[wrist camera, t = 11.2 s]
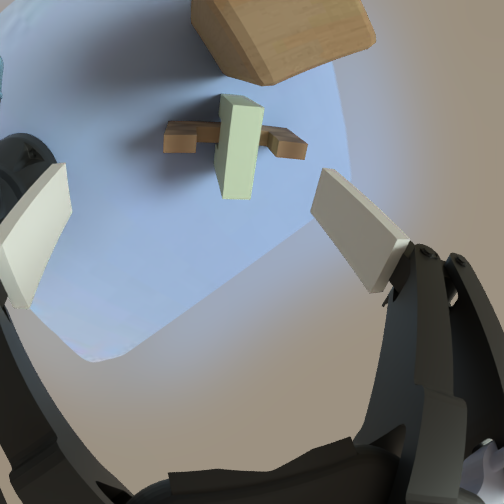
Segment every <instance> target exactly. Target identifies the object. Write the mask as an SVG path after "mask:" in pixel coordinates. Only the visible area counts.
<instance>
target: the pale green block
mask: <svg viewBox="0 0 504 504" xmlns="http://www.w3.org/2000/svg"><path fill="white" fill-rule="evenodd" d="M263 114H264V107H262V106H261V105H259V104H257V103H256V102H254V101H252V100H250V99H249V98H247V97H245V96H242V95H230V94H221V97H220V106H219V117H220V119H221V127H220V136H219V144H216V143H215V154H214V167H215V171H216V175H217V179H218V183H219V187H220V191H221V195H222V199H248V200H250V199H251V192H252V186H253V179H254V172H255V166H256V159H257V153H258V146H259V140H260V133H261V127H262V121H263Z"/></svg>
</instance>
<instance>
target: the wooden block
mask: <svg viewBox="0 0 504 504" xmlns="http://www.w3.org/2000/svg"><path fill="white" fill-rule="evenodd" d="M191 24H192V25H193V27H194V28H195V30H196V31H197V33H198V34H199V36H200V37H201V39H202V41H203V42H204V44H205V45H206V47H207V48H208V50H209V52H210V53H211V55H212V56H213V58H214V60H215V61H216V63H217V65H218V66H219V68H220V70H221V71H222V73H223V74H225V75H226V76H228V77H232V78H235V79H239V80H243V81H246V82H249V83H253V84H256V85H259V86H272V85H275V84H277V83H279V82H282V81H284V80H286V79H288V78H291V77H293V76H295V75H298V74H300V73H302V72H305V71H307V70H310V69H312V68H315V67H317V66H320V65H322V64H325V63H328V62H330V61H333V60H336V59H338V58H341V57H344V56H347V55H350V54H353V53H356V52H359V51H362V50H365V49H368V48H369V47H371V46H372V45H373V44H374V43H376V34H375V32H374V29H373V27H372V25H371V22H370V20H369V18H368V15H367V13H366V11H365V9H364V7H363V4H362V2H361V0H192V1H191Z"/></svg>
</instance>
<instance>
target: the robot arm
mask: <svg viewBox="0 0 504 504" xmlns="http://www.w3.org/2000/svg"><path fill="white" fill-rule="evenodd" d="M2 75H3V60H2V58H1V56H0V101H1V99H2V93H1V87H2ZM310 212H311V214H312V215H313V216H314V217H315V219H316V220H317V221H318V223H319V224H320V225H321V227H322V228H323V229H324V231H325V232H326V233H327V235H328V236H329V237H330V238H331V240H332V241H333V243H334V244H335V245H336V247H337V248H338V249H339V251H340V252H341V254H342V255H343V256H344V258H345V259H346V261H347V262H348V263H349V265H350V266H351V267H352V269H353V270H354V272H355V273H356V274H357V276H358V277H359V279H360V280H361V282H362V283H363V285H364V286H365V288H366V289H367V290H368V292H369V293H378V292H383V290H384V289H385V287H386V285H387V283H388V281H390V283H391V284H392V285H393V287H392V289H391V291H390V293H389V294H388V296H387V298H386V299H385V301H384V302H383V304H382V306H383V307H384V306H385V304H387V303H388V307H387V315H386V323H385V329H384V335H383V342H382V347H381V352H380V358H379V363H378V368H377V372H376V377H375V382H374V386H373V390H372V394H371V398H370V402H369V406H368V410H367V413H366V417H365V421H364V424H363V426H362V428H361V430H360V431H359V432H358V434H357V435H356V436H355V438H354V440H353V442H352V439H351V437H347V438H344V439H342V440H339V441H336V442H333V443H331V444H327V445H324V446H321V447H317V448H314V449H312V450H310V451H308V452H306V453H305V454H303V455H301V456H299V457H298V458H296V459H294V460H292V461H290V462H289V463H287V464H285V465H283V466H281V467H279V468H277V469H275V470H273V471H268V472H257V471H256V472H255V471H237V470H224V469H211V470H202V471H190V472H172V473H171V472H170V473H168V475H169V479H166V480H162V481H159V482H157V483H154V484H152V485H150V486H148V487H146V488H145V489H142V490H141V491H140V492H138V493H137V494H136V495H133V494H132V493H131V492H130V491H129V490H128V489H127V488H126V487H125V486H124V485H123V484H122V483H121V482H120V481H119V480H118V479H117V478H116V477H114V476H113V475H112V474H111V473H110V472H109V471H108V470H107V469H105V468H104V467H103V466H102V465H101V464H100V463H99V462H98V461H97V459H96V458H95V457H94V456H93V455H92V454H91V452H90V451H89V450H88V449H87V447H86V446H85V445H84V444H83V442H82V441H81V440H80V439H79V437H78V436H77V435H76V433H75V432H74V431H73V429H72V428H71V427H70V425H69V424H68V422H67V421H66V419H65V418H64V417H63V415H62V414H61V412H60V411H59V409H58V408H57V406H56V405H55V403H54V401H53V400H52V398H51V397H50V395H49V393H48V392H47V390H46V388H45V387H44V385H43V384H42V382H41V380H40V378H39V376H38V374H37V373H36V371H35V369H34V367H33V365H32V363H31V361H30V359H29V357H28V355H27V353H26V352H25V350H24V347H23V345H22V343H21V341H20V339H19V336H18V334H17V332H16V330H15V327H14V325H13V323H12V320H11V318H10V315H9V313H8V310H7V309H6V307H5V305H4V304H5V302H6V299H7V297H8V298H9V300H10V302H11V304H12V305H13V307H14V308H21V309H30V306H31V303H32V300H33V298H34V295H35V292H36V290H37V287H38V284H39V282H40V279H41V277H42V275H43V272H44V270H45V267H46V265H47V263H48V261H49V258H50V256H51V254H52V252H53V250H54V247H55V245H56V243H57V241H58V239H59V237H60V235H61V233H62V231H63V229H64V227H65V225H66V223H67V221H68V219H69V218H70V216H71V214H72V207H71V201H70V195H69V188H68V180H67V172H66V163H57V162H56V160H55V158H54V156H53V154H52V153H51V151H50V150H49V148H48V147H47V146H46V145H45V144H44V143H43V142H42V141H41V140H39V139H38V138H36V137H34V136H32V135H29V134H25V133H16V134H12V135H9V136H7V137H6V138H4V139H2V140H1V141H0V445H1V447H2V449H3V450H4V452H5V454H6V456H7V458H8V460H9V462H10V464H11V466H12V471H11V472H10V474H9V478H10V482H11V484H12V486H13V488H14V490H15V492H16V494H17V495H18V497H19V498H20V500H21V501H22V503H23V504H504V332H503V330H502V327H501V325H500V323H499V320H498V318H497V316H496V314H495V312H494V309H493V307H492V305H491V304H490V301H489V299H488V297H487V295H486V293H485V291H484V289H483V287H482V285H481V283H480V281H479V280H478V278H477V276H476V274H475V272H474V270H473V269H472V267H471V265H470V264H469V262H468V261H467V260H466V259H465V258H464V257H463V256H462V255H458V254H456V253H451V254H450V255H449V257H448V259H447V261H442V260H440V257H439V256H438V254H437V253H436V252H435V251H434V250H433V249H432V248H430V247H428V246H426V245H423V244H416V245H414V244H413V243H412V242H411V241H410V239H409V238H408V237H407V236H406V235H405V233H404V232H403V231H402V230H401V229H400V228H399V227H398V226H396V224H395V223H393V222H392V221H391V220H390V219H389V218H388V217H387V216H386V215H385V214H384V213H383V212H382V211H381V210H380V209H379V208H378V207H377V206H376V205H374V204H373V203H372V202H371V201H370V200H369V199H368V198H367V197H366V196H365V195H363V194H362V193H361V192H360V191H359V190H358V189H357V188H356V187H354V186H353V185H352V184H351V183H350V182H349V181H348V180H346V179H345V178H344V177H343V176H342V175H340V174H339V173H338V172H337V171H336V170H334V169H328V168H322V171H321V175H320V179H319V182H318V186H317V190H316V193H315V197H314V200H313V204H312V207H311V211H310ZM457 292H458V299H457V301H456V302H455V304H454V305H453V306H451V304H450V302H451V300H452V299H453V297H454V296H455V294H456V293H457ZM491 439H492V440H493V441H491ZM0 504H7V503H6V500H5V498H4V496H3V493H2V491H1V489H0Z"/></svg>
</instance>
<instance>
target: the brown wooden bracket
mask: <svg viewBox="0 0 504 504" xmlns="http://www.w3.org/2000/svg"><path fill="white" fill-rule="evenodd" d="M220 127H221V122H206V121H169V122H168V124H167V127H166V130H165V133H164V144H163V153H196V142H209V143H219V136H220ZM259 145H261V146H267V147H268V148H269V150H270V151H271V152H272V153H273V154H274V155H275V156H276V157H280V158H291V159H300V160H305V155H306V151H307V146H308V144H307V143H306V142H304V141H303V140H302V139H300V138H299V137H298V136H296V135H295V134H294V133H292V132H291V131H290V130H288V129H287V128H281V127H272V126H263V125H262V127H261V133H260V140H259Z"/></svg>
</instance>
